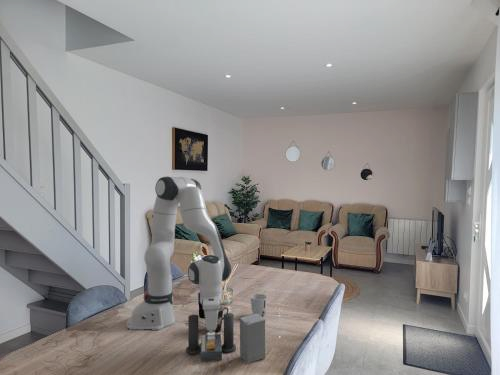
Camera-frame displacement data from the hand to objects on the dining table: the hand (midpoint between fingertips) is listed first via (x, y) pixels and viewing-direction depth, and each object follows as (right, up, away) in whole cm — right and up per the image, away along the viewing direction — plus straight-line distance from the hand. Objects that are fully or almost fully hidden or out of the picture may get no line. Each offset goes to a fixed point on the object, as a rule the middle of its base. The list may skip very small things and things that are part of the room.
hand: (211, 331), depth 134 cm
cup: (+20, -7, +34) cm, 40 cm away
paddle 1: (0, -5, +4) cm, 6 cm away
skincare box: (+17, -9, -5) cm, 19 cm away
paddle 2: (+1, -5, -4) cm, 6 cm away
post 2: (+7, -8, +2) cm, 11 cm away
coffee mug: (+1, -8, +19) cm, 21 cm away
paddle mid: (0, -5, 0) cm, 5 cm away
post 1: (-7, -8, 0) cm, 11 cm away
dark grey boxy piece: (0, -8, 0) cm, 8 cm away
